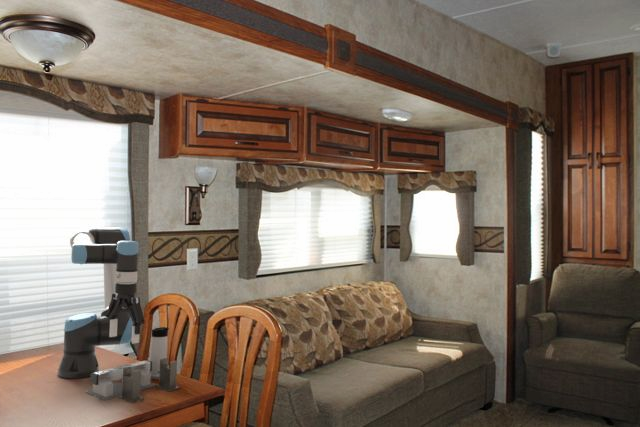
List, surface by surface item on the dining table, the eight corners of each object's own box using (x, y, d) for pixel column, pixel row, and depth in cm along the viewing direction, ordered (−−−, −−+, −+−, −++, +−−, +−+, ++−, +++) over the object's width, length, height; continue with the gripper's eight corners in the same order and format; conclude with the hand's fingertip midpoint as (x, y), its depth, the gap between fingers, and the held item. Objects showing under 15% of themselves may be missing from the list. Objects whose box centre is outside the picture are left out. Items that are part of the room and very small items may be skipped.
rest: (85, 392, 198) (85, 379, 198) (137, 378, 216) (137, 367, 216) (104, 400, 191) (105, 387, 191) (156, 385, 209) (157, 373, 209)
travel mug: (162, 380, 216) (164, 329, 216) (146, 378, 217) (148, 328, 217) (169, 375, 222) (171, 326, 222) (154, 374, 223) (156, 325, 223)
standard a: (117, 397, 194) (119, 368, 194) (130, 394, 199) (131, 365, 198) (131, 403, 190) (133, 372, 190) (144, 399, 194) (145, 369, 194)
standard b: (155, 387, 208) (156, 359, 207) (165, 384, 212) (167, 356, 212) (169, 391, 203) (170, 363, 203) (179, 388, 207) (180, 360, 207)
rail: (90, 382, 195) (90, 372, 195) (146, 369, 214) (146, 359, 214) (96, 385, 193) (96, 374, 193) (151, 370, 212) (152, 361, 212)
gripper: (97, 279, 208) (95, 335, 208) (138, 287, 193) (136, 347, 194) (115, 278, 214) (113, 332, 214) (156, 285, 199) (153, 343, 200)
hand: (124, 339), depth 204 cm, fingers open, 13 cm apart
